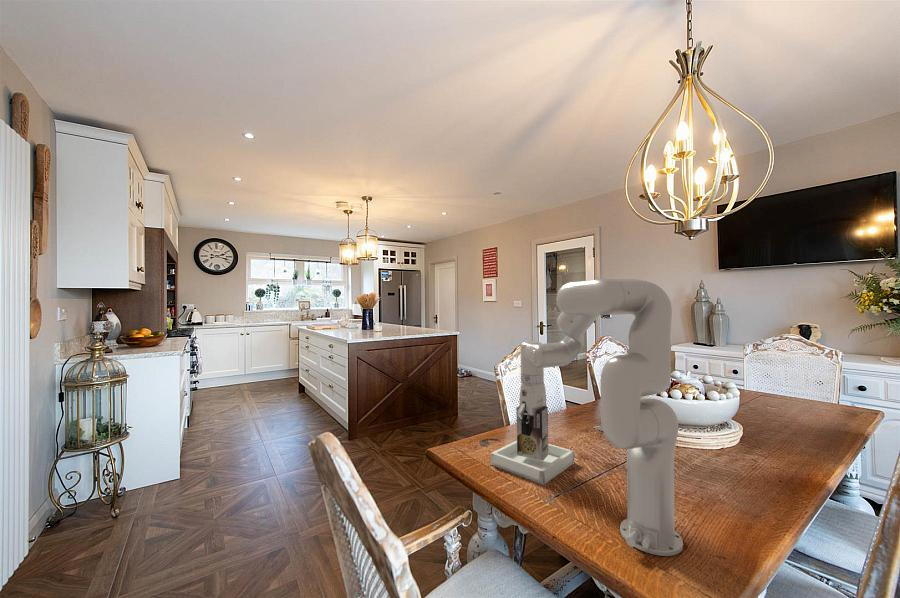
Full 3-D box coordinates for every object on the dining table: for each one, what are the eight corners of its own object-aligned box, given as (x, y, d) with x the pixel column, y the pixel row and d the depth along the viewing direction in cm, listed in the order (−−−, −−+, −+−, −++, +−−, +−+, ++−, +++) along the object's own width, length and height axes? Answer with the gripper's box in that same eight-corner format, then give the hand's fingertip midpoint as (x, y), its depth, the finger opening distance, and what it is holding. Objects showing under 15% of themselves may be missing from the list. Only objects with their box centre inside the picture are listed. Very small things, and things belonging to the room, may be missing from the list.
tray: (543, 485, 108) (542, 471, 109) (491, 465, 122) (490, 453, 122) (574, 463, 123) (574, 451, 123) (524, 447, 137) (524, 436, 137)
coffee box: (549, 454, 123) (548, 406, 123) (543, 461, 117) (542, 411, 118) (523, 448, 128) (522, 402, 128) (516, 455, 122) (515, 406, 122)
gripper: (527, 384, 114) (528, 441, 114) (555, 376, 126) (555, 427, 126) (507, 381, 119) (508, 435, 119) (536, 373, 132) (536, 422, 131)
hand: (532, 431), depth 123 cm, fingers closed on coffee box, 7 cm apart
